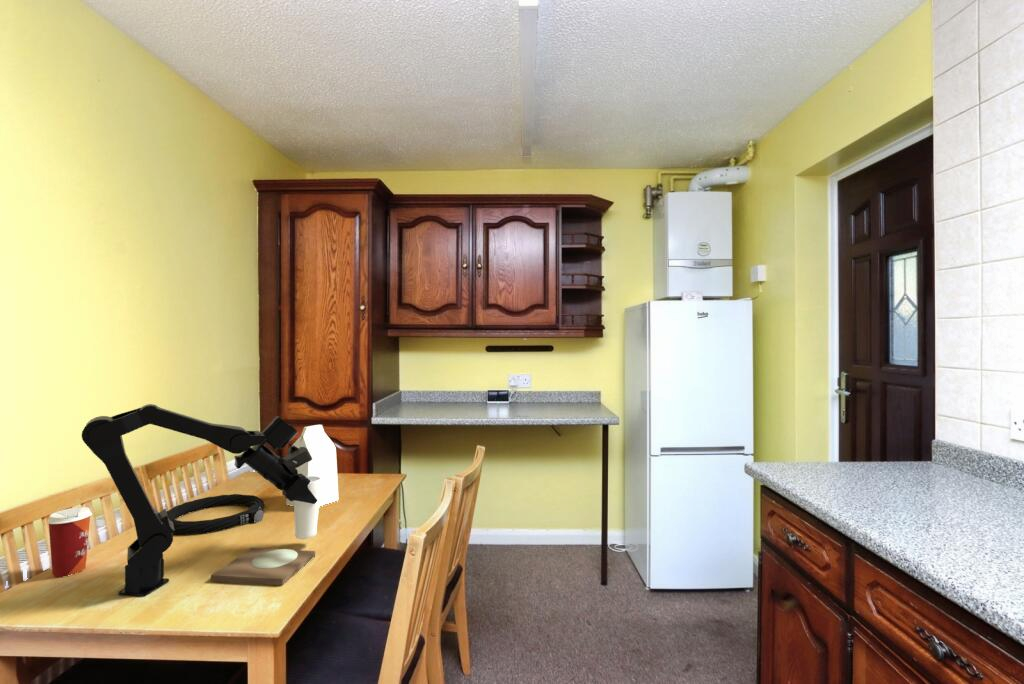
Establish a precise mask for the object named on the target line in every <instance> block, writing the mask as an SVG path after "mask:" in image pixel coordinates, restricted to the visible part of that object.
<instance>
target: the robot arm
mask: <svg viewBox="0 0 1024 684" xmlns="http://www.w3.org/2000/svg"><path fill="white" fill-rule="evenodd" d="M85 424H86V425H84V427H83V429H82V431H81V440H82V441H83V443H84V444H85V445H86V446H87V447H88V449H90V451H91V452H92V453H93V454H94V455H95V456H96V458H98V459H99V460H100V461H101V462H102V463H103V464H104V465H105V467H106V469H107V471H108V473H109V476H110V477H111V479H112V481H113V482H114V483H113V484H115V487H116V488H117V491H118V492H119V495H120V496H121V497H122V500H123V502H124V503H125V506H126V508H127V510H128V511H129V514H130V515H131V517H132V519H133V523H134V527H135V531H136V532H135V533H136V539H135V540H134V541H133V542H132V543H131V544H130V545H129V546H128V547H127V557H126V558H127V559H126V560H127V564H126V565H124V588H122V589H121V590H119V591H117V595H124V596H140V597H144V596H147V595H148V594H151V593H153V592H154V591H155V590H157V589H159V588H160V587H162V586H163V585H165V584H167V583H169V582H170V578H167V577H166V578H165V574H164V573H165V559H164V552H166V551H168V549H169V548H170V547H171V546H172V544H173V542H174V537H173V534H172V533H174V532H175V530H174V525H173V522H172V521H170V520H169V518H168V516H167V512H166V511H167V509H166V508H164V509H163V510H161V511H158V510H157V509H156V508H155V507H154V506H153V504H152V502H151V500H150V498H149V496H148V494H147V492H146V490H145V487H143V484H142V482H141V481H140V478H139V477H138V475H137V473H136V471H135V468H134V467H133V465H132V463H131V461H130V459H129V457H128V455H127V453H126V449H125V444H124V440H123V436H124V435H127V434H130V433H131V432H134V431H136V430H138V429H141V428H143V427H145V426H148V425H153V426H157V427H160V428H162V429H167V430H170V431H174V432H177V433H180V434H184V435H188V436H192V437H195V438H197V439H202V440H205V441H207V442H210V443H211V444H212V445H215V446H216V447H218V448H221V449H223V450H225V451H227V452H228V453H231V454H234V457H233V458H234V467H235V468H237V469H238V470H239V469H241V467H242V466H244V465H245V464H246V465H247V466H248V467H250V468H251V469H252V470H253V471H255V472H256V473H257V474H259V475H260V476H261V477H263V479H265V480H266V481H268V482H270V483H271V485H272V486H273V485H274V487H275V488H276V489H278V490H280V491H282V495H283V497H285V498H287V499H288V500H290V501H291V502H292V501H294V500H295V501H301V502H307V503H312V504H315V503H316V502H317V499H316V498H315V497H314V495H313V494H312V493H311V491H310V490H309V489H308V484H309V483H310V480H309V479H308V478H307V477H305V476H304V475H303V474H298V470H297V469H296V468H297V467H299V466H301V465H303V464H305V463H306V462H309V461H311V460H312V457H311V455H310V453H309V451H308V449H307V448H305V447H300V448H297V447H295V446H294V445H293V444H292V445H293V446H292V445H291V446H290V447H288V453H287V454H286V455H285V456H284V457H282V456H280V455H277V454H276V453H275V452H273V451H272V450H271V449H270V448H268V446H269V447H271V448H272V449H273V450H274V451H276V450H277V449H278V450H283V449H284V448H285V447H286V446H288V445H287V444H289V443H290V442H291V441H292V440H293V439H294V438H295V436H296V435H297V434H298V433H299V430H297V429H296V428H295V427H293V426H292V424H290V423H288V422H286V421H285V420H284V419H282V418H281V417H280V416H275V417H274V418H273V419H272V420H271V421H270V423H269V424H268V425H267V426H266V427H265V428H264V429H263V430H262V431H259V430H246V429H245V428H243V427H241V426H238V425H237V426H236V425H229V424H221V423H218V424H217V423H211V422H208V421H206V420H201V419H198V418H195V417H192V416H188V415H186V414H181V413H179V412H176V411H172V410H169V409H165V408H161V407H160V406H158V405H157V404H154V403H153V404H152V403H148V404H145V405H143V406H141V407H139V408H135V409H132V410H128V411H125V412H121V413H118V414H115V415H112V416H107V415H100V416H96V417H93V418H91V419H89V421H88V422H87V423H85ZM265 443H266V444H267V445H268V446H266V445H264V444H265Z"/></svg>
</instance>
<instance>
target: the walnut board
mask: <svg viewBox="0 0 1024 684" xmlns="http://www.w3.org/2000/svg"><path fill="white" fill-rule="evenodd" d="M313 557H314V558H316V550H304V549H303V550H301V549H290V548H283V549H282V548H281V549H280V548H262V547H261V548H259V547H251V548H250V549H248V550H246V551H245V552H244V553H242V554H240V555H239V556H237V557H236V558H234V559H233V560H231V561H230V562H229V563H227V564H225V565H224V566H223V567H221V568H219V569H218V570H216V571H215V572H213V573H212V574H211V575H210V582H211V583H225V584H227V583H228V584H243V585H244V584H245V585H246V584H247V585H259V586H260V585H264V586H278V585H283V584H284V583H285V584H286V583H288V581H290V580H291V579H292V578H293V577H294V576H295V575H296V574H297V573H298V571H299V570H300V569H301V568H302V567H303V566H304V565H305V566H307V565H308V564H309V563H310V562H311V561H312V560H313V559H314V558H313ZM312 558H313V559H312ZM311 559H312V560H311ZM310 560H311V561H310ZM309 561H310V562H309ZM308 562H309V563H308ZM307 563H308V564H307ZM306 564H307V565H306ZM305 566H304V567H305ZM304 567H303V568H304ZM303 568H302V569H303ZM302 569H301V570H302ZM301 570H300V571H301ZM300 571H299V572H300ZM296 572H297V573H296ZM295 573H296V574H295ZM294 574H295V575H294ZM293 575H294V576H293ZM292 576H293V577H292ZM291 577H292V578H291ZM290 578H291V579H290ZM289 579H290V580H289ZM285 584H284V585H285ZM284 585H283V586H284Z"/></svg>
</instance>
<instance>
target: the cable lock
mask: <svg viewBox="0 0 1024 684" xmlns="http://www.w3.org/2000/svg"><path fill="white" fill-rule="evenodd" d="M225 505H227V506H245V505H246V506H245V507H249V508H247V510H243V511H239V512H237V513H234V514H232V515H228V516H222V517H218V518H214V519H213V518H212V519H205V520H202V519H201V520H195V521H194V520H193V521H192V520H191V521H190V520H187V521H186V520H185V521H183V520H178V518H180V517H179V516H181V517H183V516H185V515H187V514H190V513H189V512H191V513H194V512H197V511H200V510H205V509H204V508H206V509H210V507H212V508H216V507H225ZM265 507H266V503H265V501H264V500H263V499H262V498H260V497H258V496H256V495H252V494H251V495H250V494H240V493H238V494H237V493H232V494H222V495H221V494H220V495H214V496H207V497H203V498H198V499H195V500H194V499H193V500H190V501H186V502H183V503H181V504H179V505H178V504H177V505H175V506H173V507H172V508H170V509H168V510H166V512H167V516H168V518H169V520H170V521H172V522H173V525H174V530H175V532H174V533H173V534H172V535H175V534H176V535H195V534H196V535H197V533H200V534H208V533H207V532H209V533H212V532H213V531H214V532H219V530H220V531H224V530H223V529H225V530H228V528H229V529H231V528H235V527H238V526H240V527H241V526H244V525H247V523H248V522H249V523H248V524H251V523H252V524H254V523H255V524H258V523H260V522H261V521H263V518H264V510H265ZM193 511H194V512H193ZM182 515H183V516H182ZM254 521H255V522H254ZM259 521H260V522H259ZM257 522H258V523H257ZM237 525H238V526H237ZM214 532H213V533H214Z"/></svg>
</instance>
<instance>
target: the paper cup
mask: <svg viewBox="0 0 1024 684" xmlns="http://www.w3.org/2000/svg"><path fill="white" fill-rule="evenodd" d="M92 515H93V513H92V512H91V510H90V508H89V507H86V506H85V507H84V506H83V507H80V506H79V507H72V508H71V507H70V508H67V509H66V508H65V509H62V510H61V509H60V510H58V511H56V512H52V513H51V514H50V515H49V517H48V519H47V521H46V523H47V524H48V531H49V534H48V535H49V545H50V560H51V571H52V577H53V576H54V577H53V578H58V577H59V578H64V577H63V576H67V577H69V576H68V575H71V574H74V575H76V574H75V573H77V572H79V573H81V572H83V571H84V570H86V566H87V555H88V548H89V547H88V545H89V532H90V521H91V516H92ZM83 569H84V570H83ZM82 570H83V571H82ZM80 571H81V572H80ZM77 574H78V573H77ZM71 576H72V575H71Z"/></svg>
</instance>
